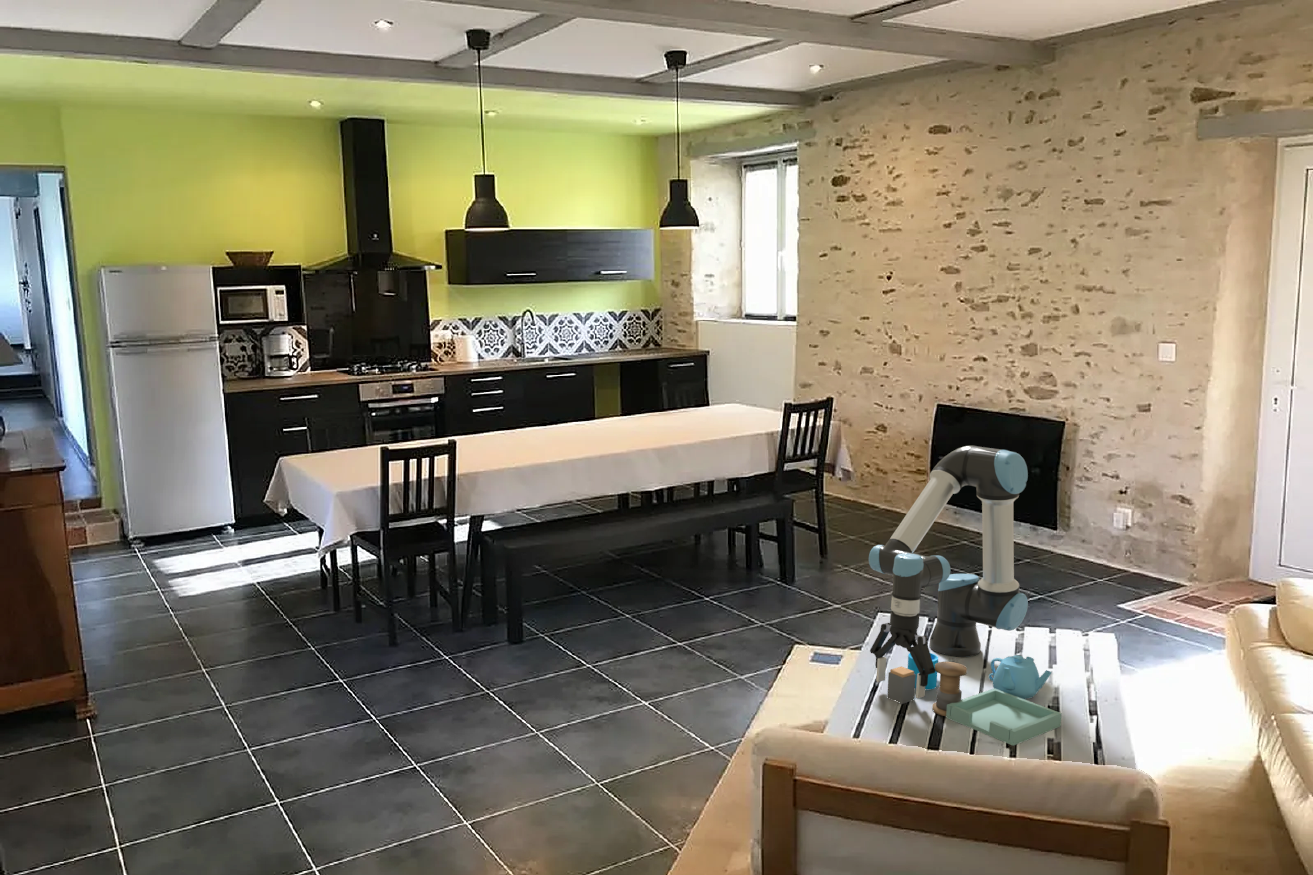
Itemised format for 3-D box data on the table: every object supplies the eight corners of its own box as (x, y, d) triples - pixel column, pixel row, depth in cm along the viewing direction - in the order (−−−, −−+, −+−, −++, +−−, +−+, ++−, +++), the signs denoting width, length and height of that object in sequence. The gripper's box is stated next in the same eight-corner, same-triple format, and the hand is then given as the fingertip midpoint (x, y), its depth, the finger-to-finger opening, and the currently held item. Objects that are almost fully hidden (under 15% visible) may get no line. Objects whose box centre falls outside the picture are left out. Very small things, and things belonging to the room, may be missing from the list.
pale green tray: (993, 700, 282) (994, 688, 281) (1060, 726, 266) (1061, 713, 266) (946, 717, 270) (946, 704, 270) (1013, 745, 254) (1014, 732, 254)
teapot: (1052, 707, 278) (1055, 666, 276) (1001, 707, 278) (1004, 666, 276) (1030, 685, 293) (1033, 646, 292) (981, 685, 293) (984, 646, 291)
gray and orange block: (899, 693, 285) (901, 665, 284) (914, 699, 281) (915, 671, 280) (887, 697, 282) (888, 669, 281) (901, 704, 278) (903, 675, 277)
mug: (927, 692, 287) (929, 663, 286) (901, 684, 292) (902, 656, 291) (948, 681, 296) (950, 653, 294) (922, 673, 301) (924, 646, 300)
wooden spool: (945, 702, 280) (948, 659, 278) (970, 712, 274) (973, 668, 272) (925, 709, 275) (928, 665, 273) (950, 719, 269) (953, 674, 267)
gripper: (860, 602, 286) (855, 677, 289) (933, 627, 266) (928, 707, 269) (878, 598, 290) (874, 671, 293) (952, 622, 271) (946, 701, 274)
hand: (899, 688), depth 281 cm, fingers open, 13 cm apart
